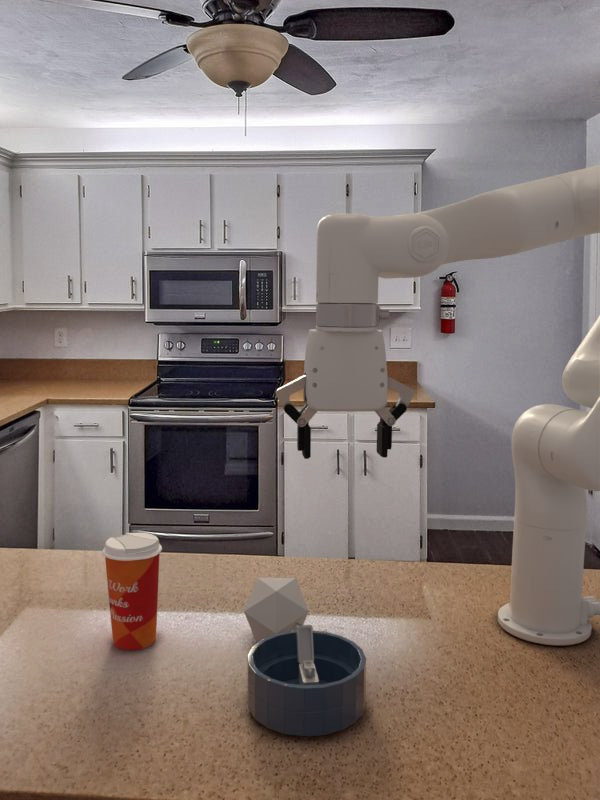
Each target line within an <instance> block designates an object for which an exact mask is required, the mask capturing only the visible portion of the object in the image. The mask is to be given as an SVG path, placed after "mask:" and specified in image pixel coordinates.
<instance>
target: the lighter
mask: <svg viewBox="0 0 600 800" xmlns="http://www.w3.org/2000/svg"><path fill="white" fill-rule="evenodd" d="M313 629H314V628H313V625H311V624H306V625H305V624H303V625H300V626H297V627H296V631H297V657H298V663H300V664H299V685H319V679H318V676H317V672H316V668H315V665H314V663H313V662H314V649H313V631H314V630H313Z"/></svg>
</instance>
